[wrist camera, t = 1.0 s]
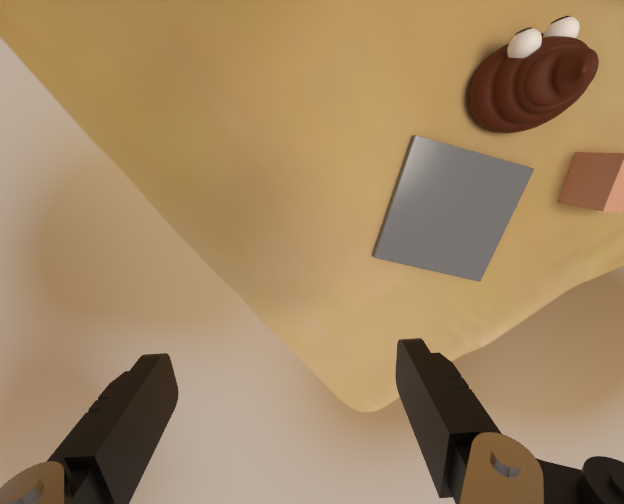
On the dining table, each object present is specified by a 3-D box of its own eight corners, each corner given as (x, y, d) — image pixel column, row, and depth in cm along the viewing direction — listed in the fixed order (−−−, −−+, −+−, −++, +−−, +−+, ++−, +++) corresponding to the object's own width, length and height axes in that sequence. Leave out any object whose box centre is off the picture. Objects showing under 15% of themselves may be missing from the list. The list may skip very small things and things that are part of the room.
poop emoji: (468, 144, 32) (531, 142, 23) (460, 55, 29) (528, 16, 20) (561, 116, 31) (662, 104, 23) (562, 24, 29) (678, -31, 20)
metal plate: (412, 135, 31) (415, 135, 31) (528, 168, 33) (534, 168, 32) (372, 255, 36) (374, 257, 35) (476, 278, 37) (480, 281, 37)
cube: (574, 152, 33) (626, 153, 27) (621, 155, 33) (680, 157, 28) (557, 201, 34) (602, 211, 29) (601, 204, 35) (654, 214, 30)
